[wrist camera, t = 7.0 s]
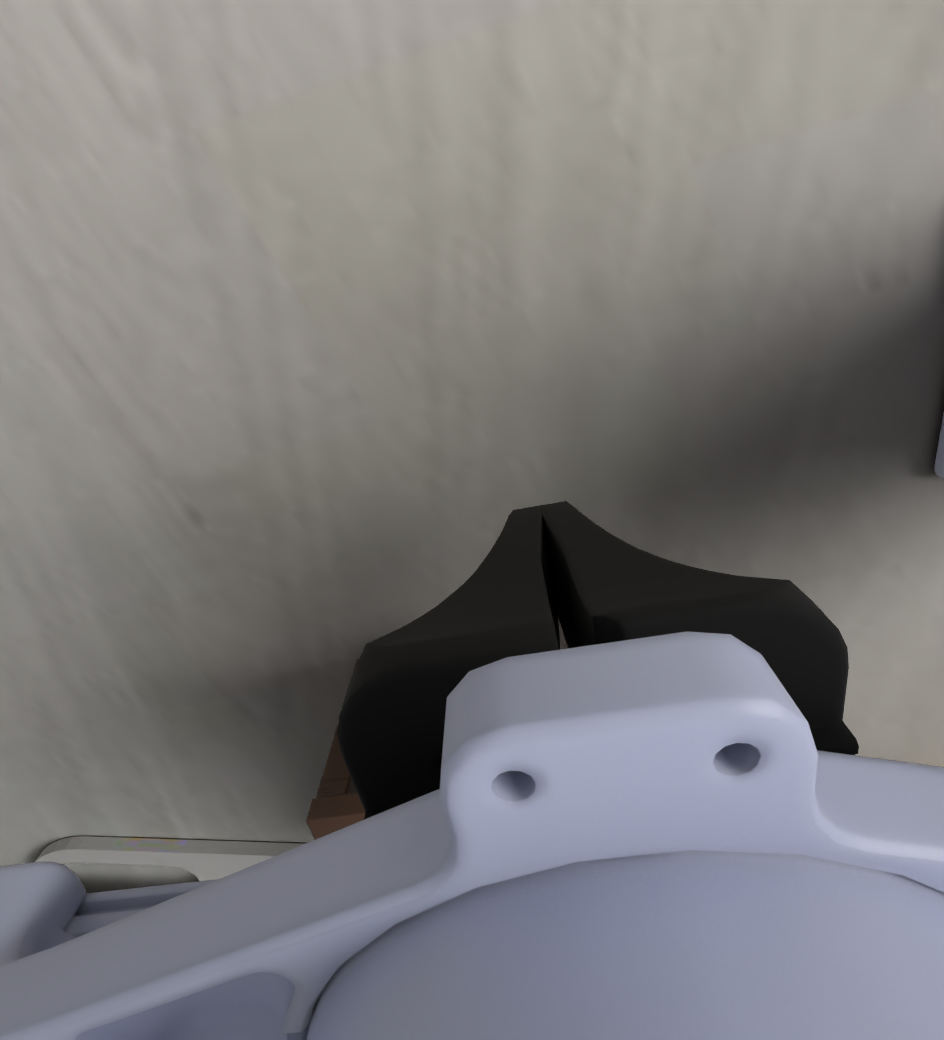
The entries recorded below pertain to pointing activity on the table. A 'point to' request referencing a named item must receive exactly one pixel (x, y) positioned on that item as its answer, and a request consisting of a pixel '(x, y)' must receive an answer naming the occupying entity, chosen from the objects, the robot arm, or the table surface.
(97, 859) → the network device
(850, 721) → the table surface
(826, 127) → the table surface
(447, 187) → the table surface
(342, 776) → the desk
